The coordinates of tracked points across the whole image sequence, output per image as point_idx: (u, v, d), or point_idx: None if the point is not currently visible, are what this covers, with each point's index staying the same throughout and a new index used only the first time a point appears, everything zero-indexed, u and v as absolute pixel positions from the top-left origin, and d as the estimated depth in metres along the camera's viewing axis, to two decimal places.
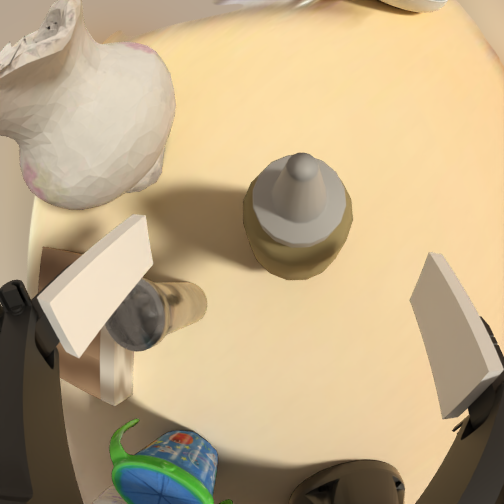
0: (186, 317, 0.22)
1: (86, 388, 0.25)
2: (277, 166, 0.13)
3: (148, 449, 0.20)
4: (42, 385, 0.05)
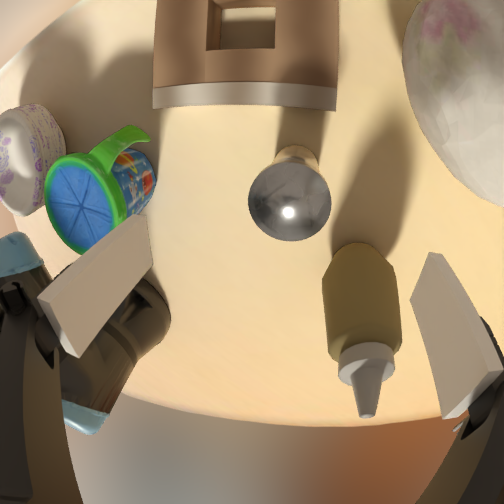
0: None
1: (159, 65, 0.19)
2: (389, 367, 0.17)
3: (123, 173, 0.22)
4: (42, 385, 0.05)
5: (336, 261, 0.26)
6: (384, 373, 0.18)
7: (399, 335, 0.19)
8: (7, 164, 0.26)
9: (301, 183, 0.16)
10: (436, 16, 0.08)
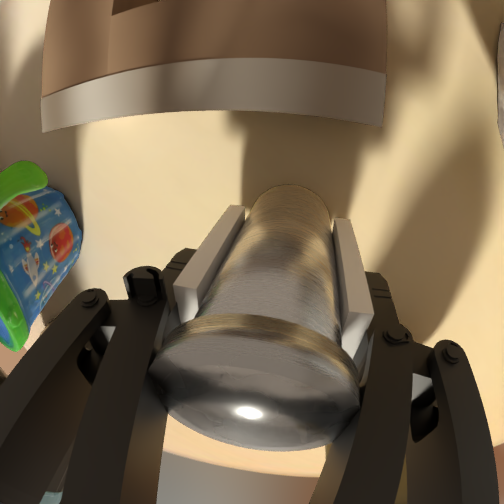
0: None
1: (48, 57, 0.08)
2: None
3: (13, 242, 0.11)
4: (157, 393, 0.06)
5: None
6: None
7: None
8: None
9: (281, 395, 0.05)
10: None
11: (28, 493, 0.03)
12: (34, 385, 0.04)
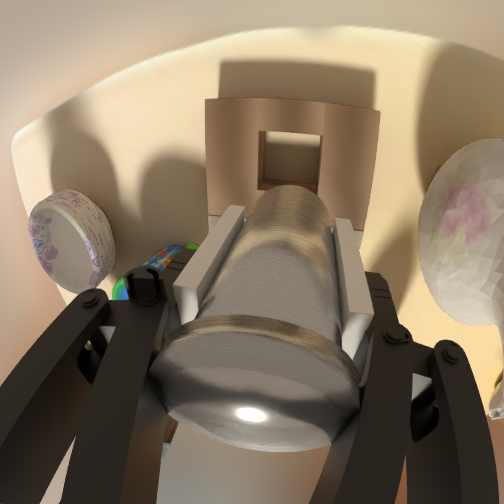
0: None
1: (212, 194, 0.27)
2: None
3: None
4: None
5: None
6: None
7: None
8: (50, 240, 0.34)
9: (281, 396, 0.05)
10: (456, 213, 0.16)
11: (28, 493, 0.03)
12: (34, 385, 0.04)
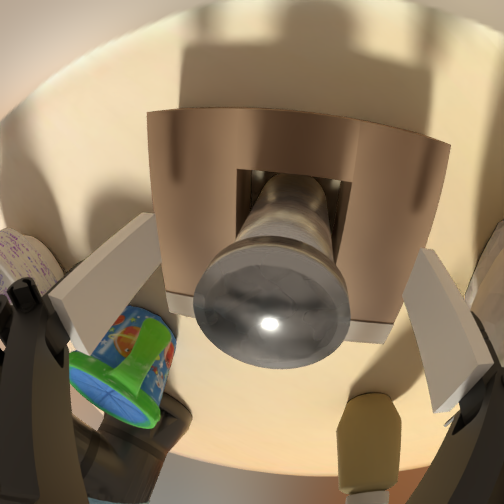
0: None
1: (169, 265, 0.18)
2: None
3: (148, 372, 0.21)
4: (51, 384, 0.05)
5: (352, 418, 0.24)
6: None
7: (396, 481, 0.17)
8: (2, 283, 0.25)
9: (293, 290, 0.08)
10: None
11: None
12: None
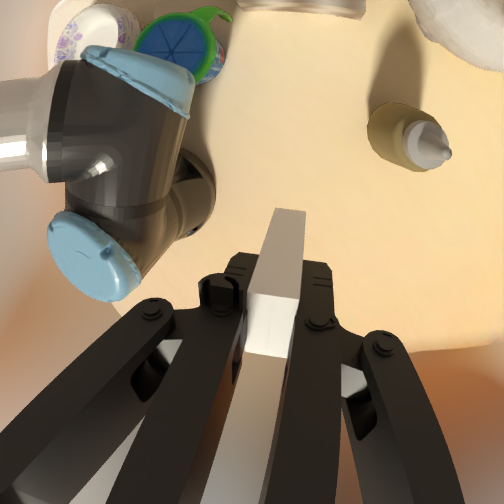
0: None
1: None
2: (443, 136, 0.19)
3: None
4: (220, 409, 0.06)
5: (376, 109, 0.28)
6: None
7: None
8: (73, 57, 0.28)
9: None
10: None
11: (51, 503, 0.03)
12: (78, 403, 0.04)
